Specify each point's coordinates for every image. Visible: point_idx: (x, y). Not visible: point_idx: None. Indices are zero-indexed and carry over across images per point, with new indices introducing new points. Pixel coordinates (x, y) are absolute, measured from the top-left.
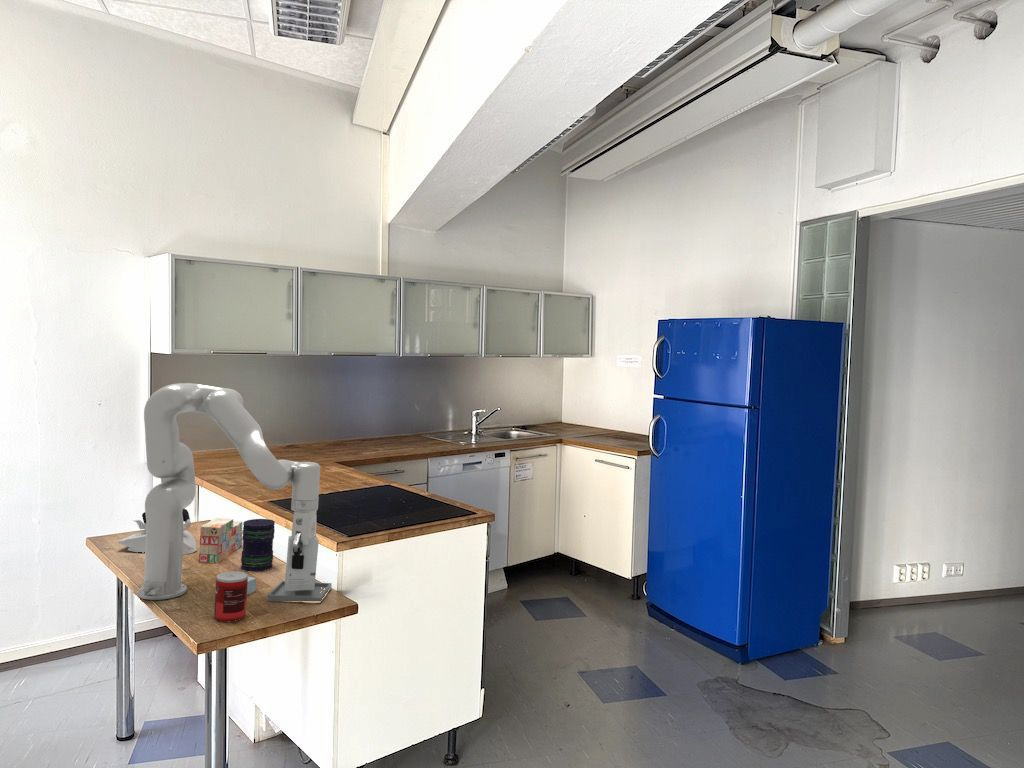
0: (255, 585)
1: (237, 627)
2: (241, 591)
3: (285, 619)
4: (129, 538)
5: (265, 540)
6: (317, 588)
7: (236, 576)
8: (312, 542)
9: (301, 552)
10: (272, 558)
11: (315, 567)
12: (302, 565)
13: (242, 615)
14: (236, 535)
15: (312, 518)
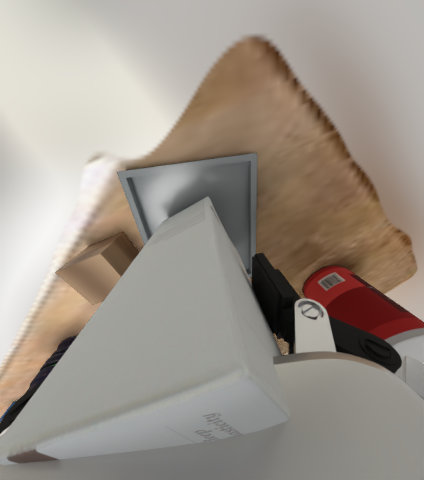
0: None
1: (373, 254)
2: (399, 305)
3: (350, 195)
4: None
5: None
6: (156, 204)
7: (399, 350)
8: (275, 375)
9: (326, 320)
10: (59, 357)
11: (214, 216)
12: (268, 261)
13: (343, 268)
14: None
15: None
